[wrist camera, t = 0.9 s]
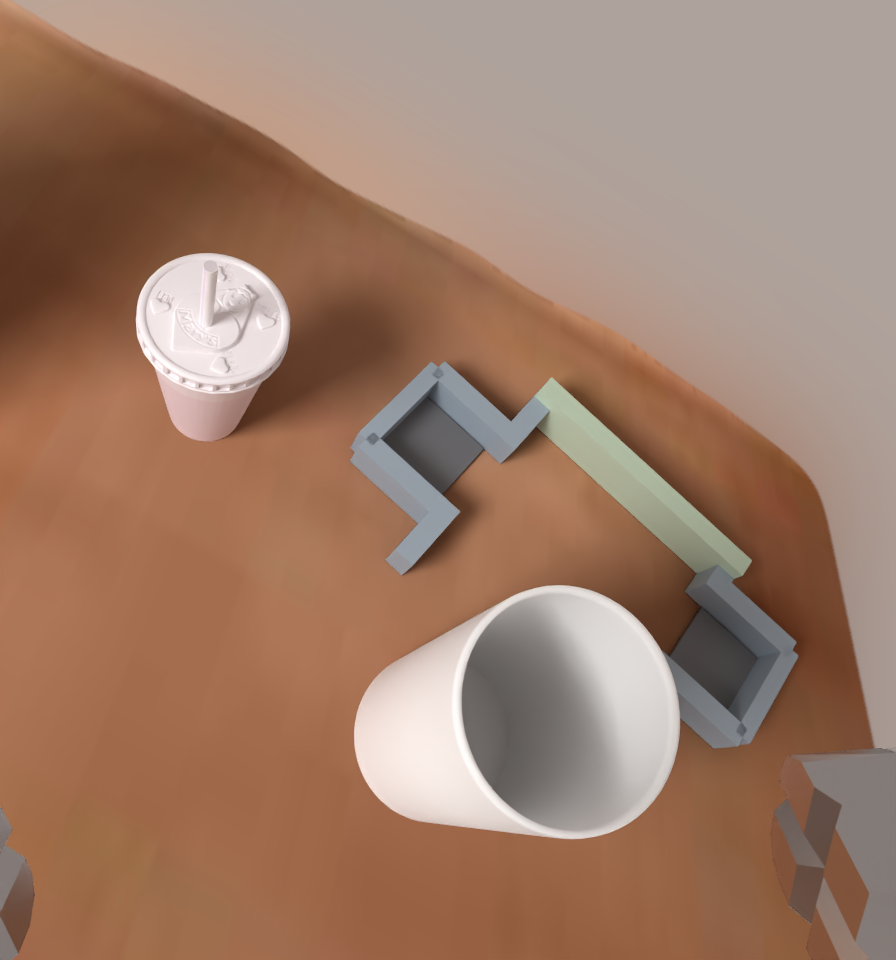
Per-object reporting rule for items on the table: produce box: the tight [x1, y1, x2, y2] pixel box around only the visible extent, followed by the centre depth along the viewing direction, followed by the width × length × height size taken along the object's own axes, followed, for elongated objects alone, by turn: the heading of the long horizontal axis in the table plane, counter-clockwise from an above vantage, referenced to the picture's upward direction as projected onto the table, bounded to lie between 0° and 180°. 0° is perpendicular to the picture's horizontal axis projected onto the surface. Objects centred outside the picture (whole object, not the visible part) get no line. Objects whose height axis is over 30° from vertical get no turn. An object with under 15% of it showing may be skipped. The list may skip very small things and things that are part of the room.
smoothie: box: [136, 253, 290, 441], centre depth 38 cm, size 6×6×14 cm
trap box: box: [350, 361, 799, 748], centre depth 46 cm, size 26×14×3 cm, turn 50°
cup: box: [354, 585, 680, 839], centre depth 35 cm, size 8×8×16 cm
